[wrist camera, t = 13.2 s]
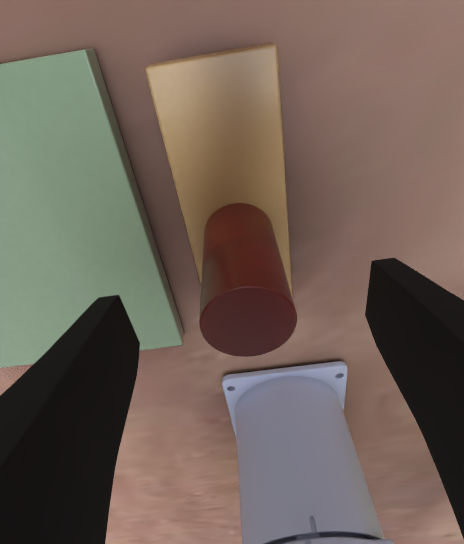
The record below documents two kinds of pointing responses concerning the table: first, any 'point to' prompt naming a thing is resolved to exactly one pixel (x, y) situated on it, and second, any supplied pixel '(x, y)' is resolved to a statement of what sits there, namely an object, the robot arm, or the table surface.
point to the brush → (231, 190)
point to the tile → (70, 211)
